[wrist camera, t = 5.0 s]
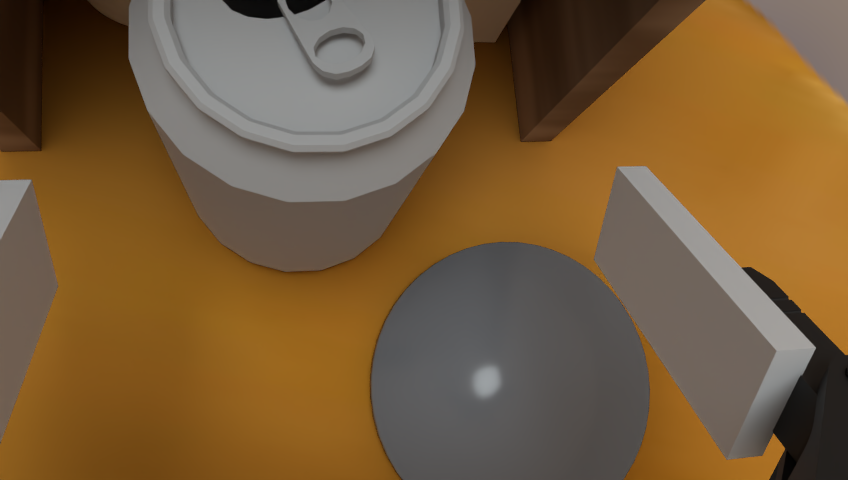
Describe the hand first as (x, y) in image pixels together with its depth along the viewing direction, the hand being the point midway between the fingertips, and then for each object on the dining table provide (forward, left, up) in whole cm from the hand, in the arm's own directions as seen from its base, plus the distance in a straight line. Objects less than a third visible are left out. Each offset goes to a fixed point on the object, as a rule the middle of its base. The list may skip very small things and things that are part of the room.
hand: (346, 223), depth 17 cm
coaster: (+6, -4, -9) cm, 11 cm away
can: (-1, +4, -9) cm, 10 cm away
